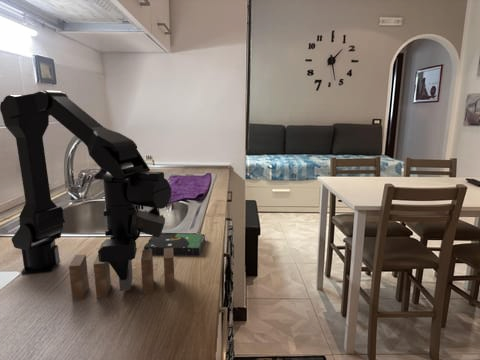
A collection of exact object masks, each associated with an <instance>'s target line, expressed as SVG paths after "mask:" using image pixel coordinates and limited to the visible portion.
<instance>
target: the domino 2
mask: <svg viewBox="0 0 480 360" xmlns="http://www.w3.org/2000/svg"><path fill="white" fill-rule="evenodd" d="M110 266H111V265H110V264H109V262H100V261H99V258H98V254H97V255H96V259H95V260H94V263H93V274H94V285H95V286H94V287H95V294H96V295H95V296H96V299H103V298H108V296H109V292H110V289H111V286H112V278H111V277H112V276H111V267H110Z"/></svg>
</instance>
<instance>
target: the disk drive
mask: <svg viewBox="0 0 480 360" xmlns="http://www.w3.org/2000/svg"><path fill="white" fill-rule="evenodd" d="M205 235H206V234H203V233H195V232H193V233H187V232H162V233H161V236H160V237H153V235H151V237H150V238H149V239H148V242H147V243H146V244H144V246H143V250H150V249H152V256H154V255H156V256H157V255H158V256H160V255H161V256H164V248H173V255H174V256H191V257H192V256H193V257H195V256H196V257H198V256H200V255H201V253H202V252H203V251H202V250H203V248H204V245H205V242H206V236H205Z"/></svg>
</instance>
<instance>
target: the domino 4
mask: <svg viewBox="0 0 480 360" xmlns="http://www.w3.org/2000/svg"><path fill="white" fill-rule="evenodd" d="M153 256H154V255H152V249H150V250H144V249H143V250H142V252H141V257H140V267H141V269H140V270H141V283H142V284H141V285H142V294H152V293H154V284H155V283H154V279H155V278H154V277H155V275H154V262H153V261H154V258H153Z"/></svg>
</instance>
